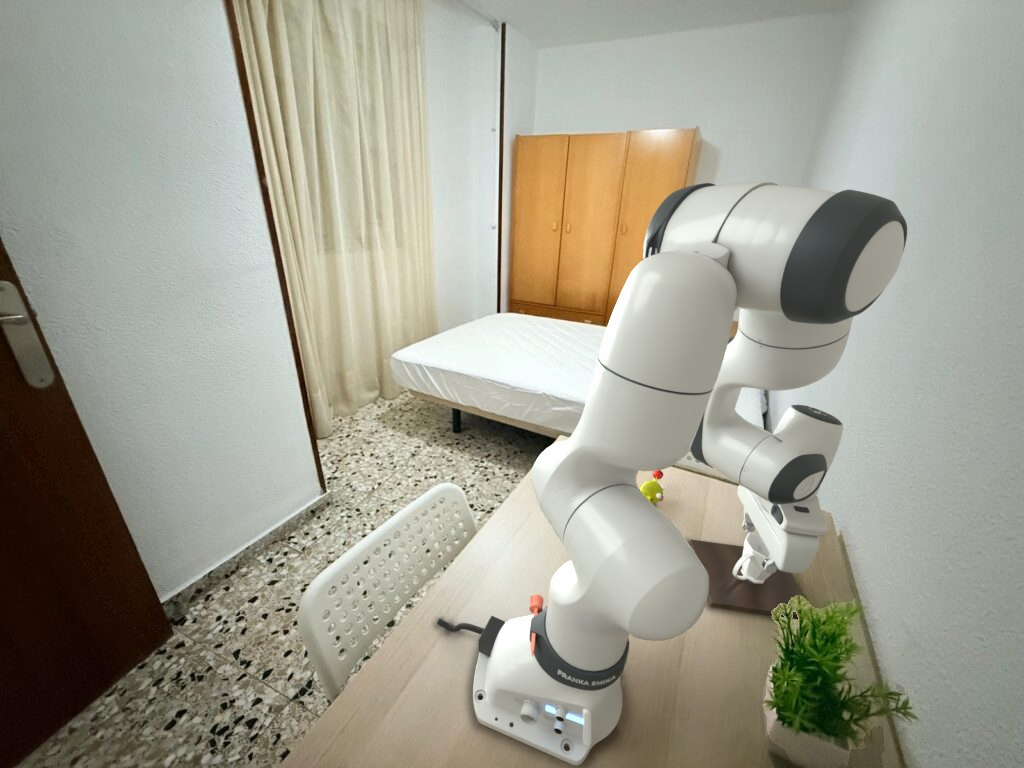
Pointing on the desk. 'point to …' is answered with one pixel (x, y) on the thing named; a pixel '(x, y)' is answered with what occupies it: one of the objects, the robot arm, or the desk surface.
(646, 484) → the toy figure
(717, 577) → the walnut board
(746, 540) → the cup
